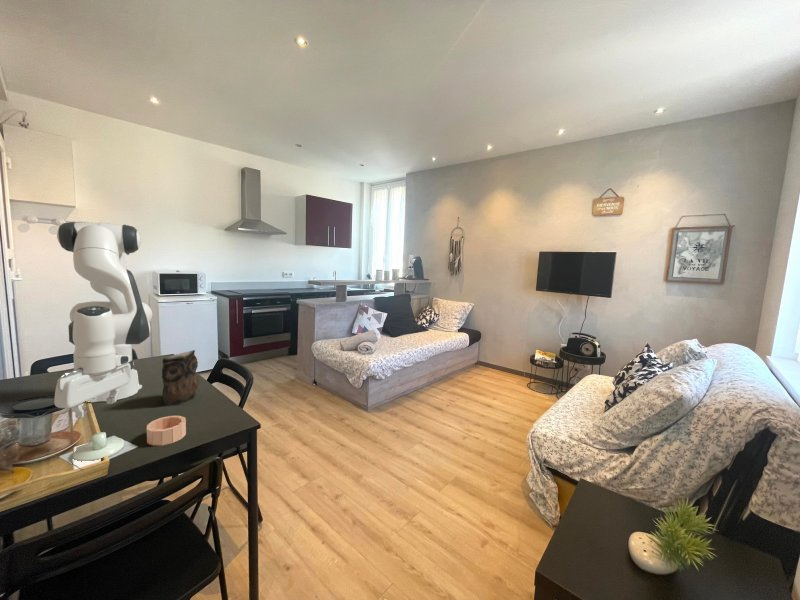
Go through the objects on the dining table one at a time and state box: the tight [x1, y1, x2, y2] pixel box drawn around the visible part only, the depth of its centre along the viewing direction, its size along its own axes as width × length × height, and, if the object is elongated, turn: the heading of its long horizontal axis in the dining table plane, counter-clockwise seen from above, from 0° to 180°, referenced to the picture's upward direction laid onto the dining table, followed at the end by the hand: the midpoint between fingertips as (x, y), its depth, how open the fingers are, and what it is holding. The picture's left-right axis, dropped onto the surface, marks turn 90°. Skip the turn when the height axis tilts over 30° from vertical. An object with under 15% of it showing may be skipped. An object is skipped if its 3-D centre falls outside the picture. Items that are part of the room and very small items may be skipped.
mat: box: [58, 435, 139, 465], centre depth 95 cm, size 13×13×1 cm
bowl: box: [146, 415, 187, 446], centre depth 104 cm, size 10×10×5 cm
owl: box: [161, 349, 200, 407], centre depth 131 cm, size 13×13×20 cm
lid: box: [73, 431, 124, 462], centre depth 95 cm, size 11×11×5 cm
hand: (97, 409), depth 93 cm, fingers open, 8 cm apart
